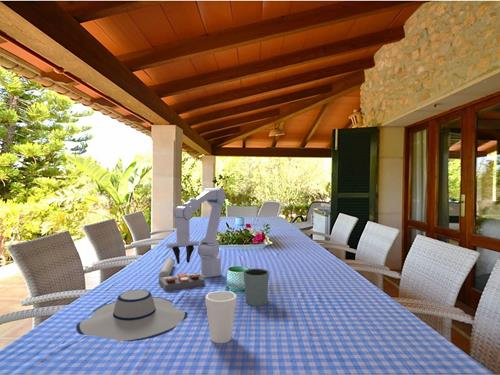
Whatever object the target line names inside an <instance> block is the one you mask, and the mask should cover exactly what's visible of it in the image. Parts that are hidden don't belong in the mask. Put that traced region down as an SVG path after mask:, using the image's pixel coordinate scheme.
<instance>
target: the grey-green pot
mask: <svg viewBox="0 0 500 375" xmlns="http://www.w3.org/2000/svg"><path fill="white" fill-rule="evenodd" d="M269 278H270V271H269V270H267V269H263V268H248V269H246V270H244V271H243V283H244V293H245V296H244V298H245V303H246V305H249V306H253V307H261V306H264V305H267V303H268V297H269V296H268V290H269Z"/></svg>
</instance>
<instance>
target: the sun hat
mask: <svg viewBox="0 0 500 375" xmlns="http://www.w3.org/2000/svg"><path fill="white" fill-rule="evenodd" d="M187 318H188V311H185V310H181V309H179V308H176V307H175V306H174V304H173V301H172V300H170V299H167V298H164V297H158V296H153V295H152V293H151V292H150V291H149V290H145V289H131V290H127V291H124V292H121V293H120V294H118V296H117V298H116V300H115V301H114V302H110V303H109V302H108V303H107V304H103V305H101V306H99V307H98V308H96V309H94V310H93V314H92V316H91V317H88V318H87V319H85V320H82V321H81V322H78V323H77V324H76V331H77V333H78V334H79V335H82V336H83V335H84V336H92V337H101V338H106V339H111V340H116V341H121V342H137V341H144V340H148V339H152V338H156V337H159V336H161V335H165V334H167V333H170V332H171V331H173V330H174V329H175V328H176V327H177V326H178V325H179V324H180V323H182V322H183V321H184V320H186V319H187Z"/></svg>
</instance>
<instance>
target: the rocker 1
mask: <svg viewBox="0 0 500 375" xmlns="http://www.w3.org/2000/svg"><path fill="white" fill-rule="evenodd" d="M186 274H187V273H186V272H183V273H177V275H176V276H178V277H179V279H180V281H181V282H186V281H189V279H188V277H187V275H186Z"/></svg>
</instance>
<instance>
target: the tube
mask: <svg viewBox="0 0 500 375" xmlns="http://www.w3.org/2000/svg"><path fill="white" fill-rule="evenodd" d="M175 261H176V260H175V259H174V258H173V257H167V258H166V260H165V262H164V264H163V266H162V267H161V269H160V271H159V272H158V279H159V278H162V277H170V276H171V272H172V270H173V268H174V265H175V264H176V262H175Z"/></svg>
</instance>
